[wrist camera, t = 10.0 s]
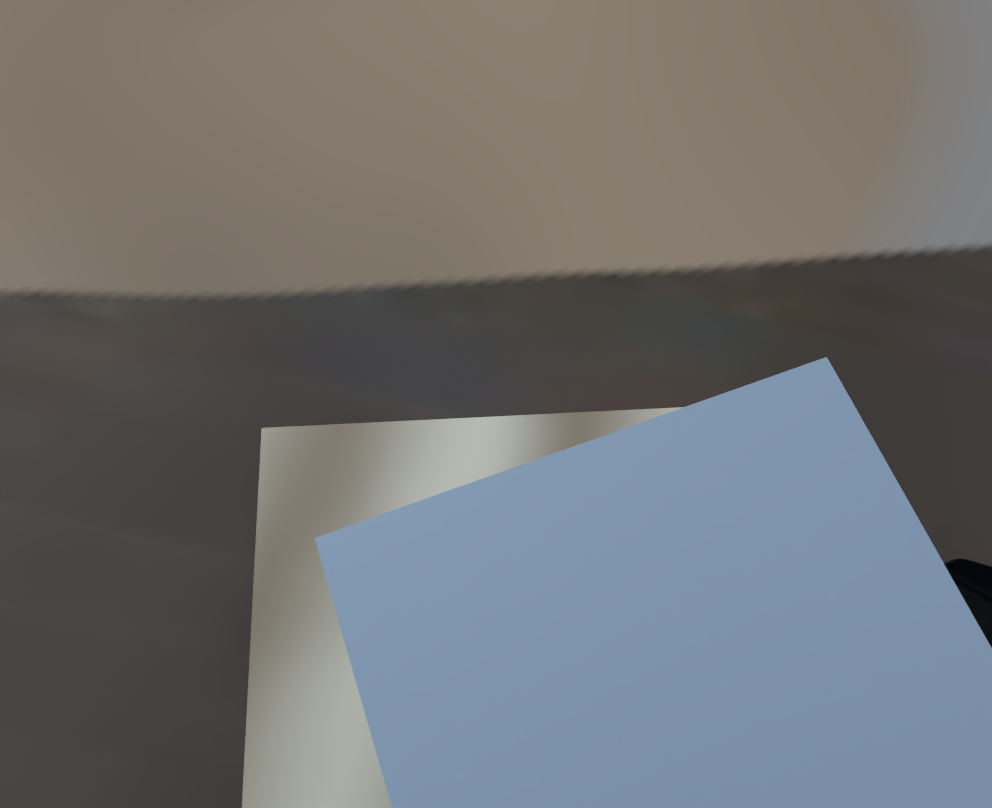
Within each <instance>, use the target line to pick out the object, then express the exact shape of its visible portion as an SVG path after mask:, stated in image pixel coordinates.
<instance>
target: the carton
mask: <svg viewBox="0 0 992 808" xmlns="http://www.w3.org/2000/svg"><path fill="white" fill-rule="evenodd" d="M315 541H316V545H317V548H318V552H319V555H320V559H321V562H322V566H323V569H324V573H325V576H326V580H327V583H328V586H329V590H330V593H331V597H332V600H333V604H334V607H335V611H336V614H337V618H338V621H339V625H340V628H341V632H342V635H343V639H344V642H345V646H346V649H347V653H348V656H349V660H350V663H351V666H352V670H353V673H354V677H355V680H356V684H357V687H358V691H359V694H360V698H361V701H362V705H363V708H364V712H365V715H366V719H367V722H368V726H369V729H370V733H371V736H372V740H373V743H374V746H375V750H376V753H377V757H378V760H379V764H380V767H381V771H382V774H383V778H384V781H385V785H386V788H387V792H388V795H389V799H390V802H391V806H392V808H992V648H991V646H990V644H989V642H988V641H987V639H986V637H985V635H984V634H983V632H982V630H981V628H980V627H979V625H978V623H977V621H976V620H975V618H974V616H973V614H972V612H971V611H970V609H969V607H968V605H967V604H966V602H965V600H964V598H963V597H962V595H961V593H960V591H959V590H958V588H957V586H956V584H955V582H954V581H953V579H952V577H951V575H950V574H949V572H948V570H947V568H946V567H945V565H944V563H943V561H942V560H941V558H940V556H939V554H938V552H937V551H936V549H935V547H934V545H933V544H932V542H931V540H930V538H929V537H928V535H927V533H926V531H925V530H924V528H923V526H922V524H921V522H920V521H919V519H918V517H917V515H916V514H915V512H914V510H913V508H912V507H911V505H910V503H909V501H908V500H907V498H906V496H905V494H904V492H903V491H902V489H901V487H900V485H899V484H898V482H897V480H896V478H895V477H894V475H893V473H892V471H891V470H890V468H889V466H888V464H887V462H886V461H885V459H884V457H883V455H882V454H881V452H880V450H879V448H878V447H877V445H876V443H875V441H874V440H873V438H872V436H871V434H870V432H869V431H868V429H867V427H866V425H865V424H864V422H863V420H862V418H861V417H860V415H859V413H858V411H857V410H856V408H855V406H854V404H853V402H852V401H851V399H850V397H849V395H848V394H847V392H846V390H845V388H844V387H843V385H842V383H841V381H840V380H839V378H838V376H837V374H836V372H835V371H834V369H833V367H832V365H831V364H830V362H829V360H828V358H827V357H825V358H823V359H820V360H817V361H814V362H811V363H808V364H806V365H803V366H800V367H797V368H794V369H791V370H789V371H786V372H783V373H780V374H777V375H774V376H772V377H769V378H766V379H763V380H760V381H757V382H755V383H752V384H749V385H746V386H743V387H740V388H738V389H735V390H732V391H729V392H726V393H723V394H721V395H718V396H715V397H712V398H709V399H706V400H704V401H701V402H698V403H695V404H692V405H689V406H687V407H684V408H681V409H678V410H675V411H672V412H670V413H667V414H664V415H661V416H658V417H655V418H653V419H650V420H647V421H644V422H641V423H638V424H636V425H633V426H630V427H627V428H624V429H622V430H619V431H616V432H613V433H610V434H607V435H605V436H602V437H599V438H596V439H593V440H590V441H588V442H585V443H582V444H579V445H576V446H573V447H571V448H568V449H565V450H562V451H559V452H556V453H554V454H551V455H548V456H545V457H542V458H539V459H537V460H534V461H531V462H528V463H525V464H522V465H520V466H517V467H514V468H511V469H508V470H505V471H503V472H500V473H497V474H494V475H491V476H488V477H486V478H483V479H480V480H477V481H474V482H471V483H469V484H466V485H463V486H460V487H457V488H454V489H452V490H449V491H446V492H443V493H440V494H437V495H435V496H432V497H429V498H426V499H423V500H420V501H418V502H415V503H412V504H409V505H406V506H403V507H401V508H398V509H395V510H392V511H389V512H386V513H384V514H381V515H378V516H375V517H372V518H369V519H367V520H364V521H361V522H358V523H355V524H353V525H350V526H347V527H344V528H341V529H338V530H336V531H333V532H330V533H327V534H324V535H321V536H319V537H316V538H315Z"/></svg>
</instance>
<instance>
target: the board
mask: <svg viewBox="0 0 992 808" xmlns="http://www.w3.org/2000/svg"><path fill="white" fill-rule="evenodd" d="M681 408H684V407H681ZM681 408H661V409H640V410H620V411H600V412H579V413H559V414H538V415H518V416H497V417H477V418H457V419H436V420H416V421H395V422H375V423H355V424H334V425H314V426H293V427H273V428H262V432H261V451H260V470H259V489H258V508H257V527H256V547H255V566H254V585H253V604H252V623H251V643H250V662H249V681H248V700H247V719H246V738H245V758H244V777H243V796H242V808H392V806H391V802H390V799H389V795H388V792H387V788H386V785H385V781H384V778H383V774H382V771H381V767H380V764H379V760H378V757H377V753H376V750H375V746H374V743H373V740H372V736H371V733H370V729H369V726H368V722H367V719H366V715H365V712H364V708H363V705H362V701H361V698H360V694H359V691H358V687H357V684H356V680H355V677H354V673H353V670H352V666H351V663H350V660H349V656H348V653H347V649H346V646H345V642H344V639H343V635H342V632H341V628H340V625H339V621H338V618H337V614H336V611H335V607H334V604H333V600H332V597H331V593H330V590H329V586H328V583H327V580H326V576H325V573H324V569H323V566H322V562H321V559H320V555H319V552H318V548H317V545H316V541H315V538H316V537H319V536H321V535H324V534H327V533H330V532H333V531H336V530H338V529H341V528H344V527H347V526H350V525H353V524H355V523H358V522H361V521H364V520H367V519H369V518H372V517H375V516H378V515H381V514H384V513H386V512H389V511H392V510H395V509H398V508H401V507H403V506H406V505H409V504H412V503H415V502H418V501H420V500H423V499H426V498H429V497H432V496H435V495H437V494H440V493H443V492H446V491H449V490H452V489H454V488H457V487H460V486H463V485H466V484H469V483H471V482H474V481H477V480H480V479H483V478H486V477H488V476H491V475H494V474H497V473H500V472H503V471H505V470H508V469H511V468H514V467H517V466H520V465H522V464H525V463H528V462H531V461H534V460H537V459H539V458H542V457H545V456H548V455H551V454H554V453H556V452H559V451H562V450H565V449H568V448H571V447H573V446H576V445H579V444H582V443H585V442H588V441H590V440H593V439H596V438H599V437H602V436H605V435H607V434H610V433H613V432H616V431H619V430H622V429H624V428H627V427H630V426H633V425H636V424H638V423H641V422H644V421H647V420H650V419H653V418H655V417H658V416H661V415H664V414H667V413H670V412H672V411H675V410H678V409H681Z"/></svg>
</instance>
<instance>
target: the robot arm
mask: <svg viewBox="0 0 992 808" xmlns="http://www.w3.org/2000/svg"><path fill="white" fill-rule="evenodd" d="M944 565H945V567H946V568H947V570H948V572H949V574H950V575H951V577H952V579H953V581H954V582H955V584H956V586H957V588H958V590H959V591H960V593H961V595H962V597H963V598H964V600H965V602H966V604H967V605H968V607H969V609H970V611H971V612H972V614H973V616H974V618H975V620H976V621H977V623H978V625H979V627H980V628H981V630H982V632H983V634H984V635H985V637H986V639H987V641H988V642H989V644H990V646H991V648H992V567H991V566H987V565H984V564H980V563H977V562H974V561H970V560H966V559H954V560H951V561H949V562H946V563H944Z"/></svg>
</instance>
